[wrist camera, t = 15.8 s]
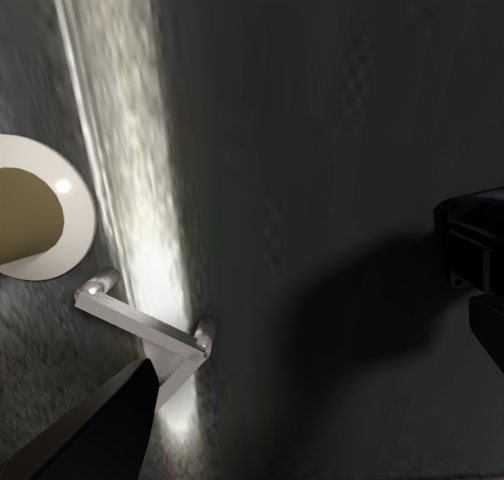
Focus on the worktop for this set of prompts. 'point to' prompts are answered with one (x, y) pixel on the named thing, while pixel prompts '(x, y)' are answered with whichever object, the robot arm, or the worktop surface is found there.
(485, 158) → the worktop surface
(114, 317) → the angled metal bracket
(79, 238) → the ceramic coaster
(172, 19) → the worktop surface
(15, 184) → the cork
